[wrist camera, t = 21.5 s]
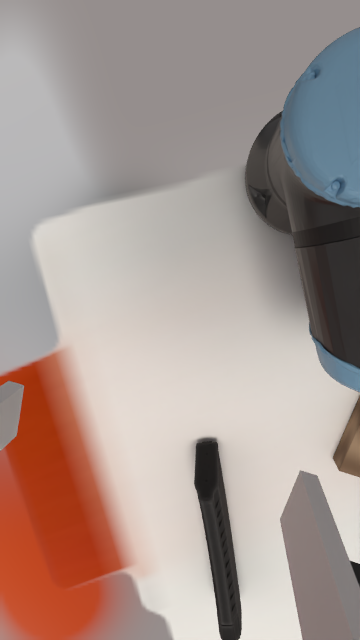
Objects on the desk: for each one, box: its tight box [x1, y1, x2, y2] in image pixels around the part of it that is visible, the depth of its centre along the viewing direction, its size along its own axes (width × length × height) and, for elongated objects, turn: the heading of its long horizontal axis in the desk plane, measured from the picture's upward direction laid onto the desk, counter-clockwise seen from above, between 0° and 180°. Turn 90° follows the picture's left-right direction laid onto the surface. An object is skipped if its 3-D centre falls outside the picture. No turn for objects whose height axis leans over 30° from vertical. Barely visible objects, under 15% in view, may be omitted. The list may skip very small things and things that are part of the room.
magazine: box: [194, 441, 242, 640], centre depth 52 cm, size 17×3×30 cm
